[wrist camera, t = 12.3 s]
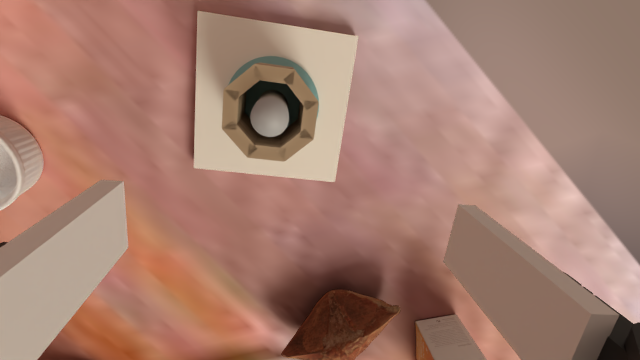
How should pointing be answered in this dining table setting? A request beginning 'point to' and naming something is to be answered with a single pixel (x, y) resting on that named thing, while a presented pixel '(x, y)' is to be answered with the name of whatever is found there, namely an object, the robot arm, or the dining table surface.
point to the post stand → (271, 92)
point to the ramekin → (17, 161)
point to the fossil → (340, 327)
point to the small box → (445, 340)
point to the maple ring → (240, 123)
